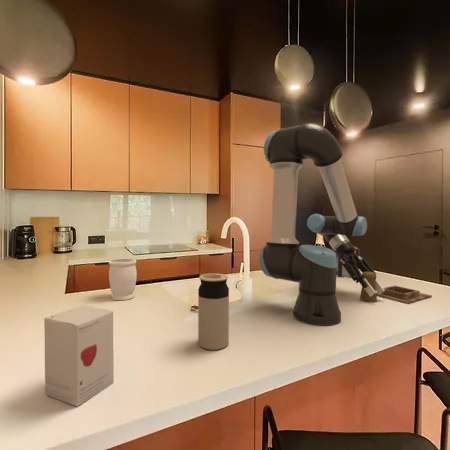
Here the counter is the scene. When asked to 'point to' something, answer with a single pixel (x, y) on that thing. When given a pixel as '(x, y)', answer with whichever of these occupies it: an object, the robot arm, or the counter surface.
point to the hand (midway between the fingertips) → (377, 293)
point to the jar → (122, 278)
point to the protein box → (340, 268)
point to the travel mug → (213, 311)
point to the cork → (371, 279)
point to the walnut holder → (403, 294)
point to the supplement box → (78, 353)
